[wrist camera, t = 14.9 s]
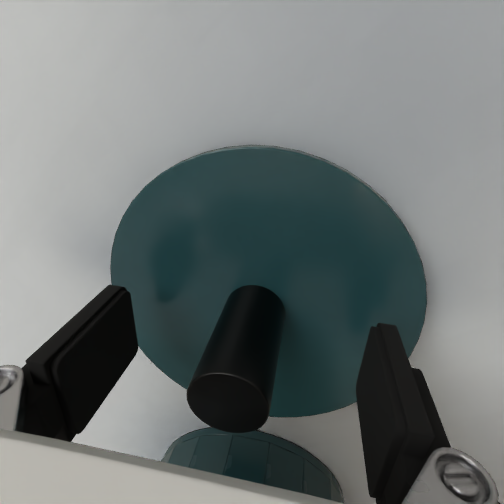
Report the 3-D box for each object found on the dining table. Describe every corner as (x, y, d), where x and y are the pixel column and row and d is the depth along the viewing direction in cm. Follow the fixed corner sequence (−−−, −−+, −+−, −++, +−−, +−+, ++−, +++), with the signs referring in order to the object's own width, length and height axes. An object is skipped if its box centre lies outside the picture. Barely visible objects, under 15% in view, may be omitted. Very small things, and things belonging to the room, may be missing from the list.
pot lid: (74, 192, 14) (-69, 250, 9) (395, 89, 10) (473, 87, 5) (186, 404, 18) (136, 522, 13) (432, 388, 14) (491, 543, 10)
